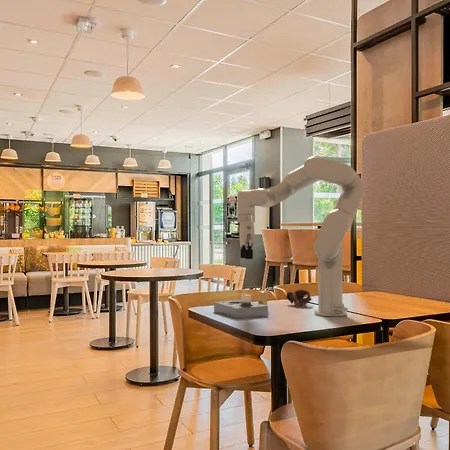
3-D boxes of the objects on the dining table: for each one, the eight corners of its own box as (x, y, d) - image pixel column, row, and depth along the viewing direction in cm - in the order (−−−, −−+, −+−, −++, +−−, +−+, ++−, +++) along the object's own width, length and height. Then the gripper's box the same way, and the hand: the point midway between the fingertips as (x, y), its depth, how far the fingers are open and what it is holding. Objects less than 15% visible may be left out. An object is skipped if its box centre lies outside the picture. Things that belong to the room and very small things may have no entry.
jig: (267, 315, 187) (267, 295, 187) (236, 318, 180) (236, 297, 180) (243, 309, 204) (242, 290, 205) (214, 311, 198) (213, 292, 198)
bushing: (269, 311, 199) (269, 292, 199) (261, 311, 197) (260, 292, 197) (264, 309, 202) (264, 291, 202) (256, 310, 200) (256, 291, 201)
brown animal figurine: (312, 305, 217) (314, 291, 213) (305, 317, 210) (307, 302, 206) (288, 297, 222) (289, 283, 218) (280, 309, 215) (282, 294, 211)
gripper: (259, 218, 196) (259, 259, 195) (250, 219, 213) (250, 257, 212) (241, 218, 195) (242, 259, 194) (233, 219, 212) (234, 257, 211)
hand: (246, 258), depth 203 cm, fingers open, 9 cm apart
